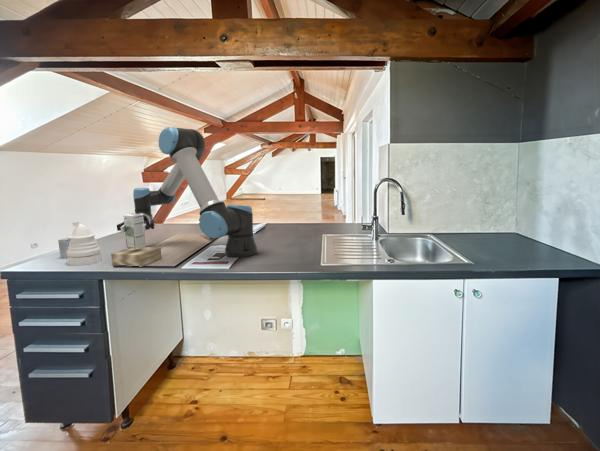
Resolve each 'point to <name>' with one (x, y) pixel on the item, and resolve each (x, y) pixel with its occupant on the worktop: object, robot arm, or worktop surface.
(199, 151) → the robot arm
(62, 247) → the medicine box
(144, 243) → the syrup box
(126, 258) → the birch block
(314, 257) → the worktop surface
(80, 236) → the honey pot
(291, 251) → the worktop surface
